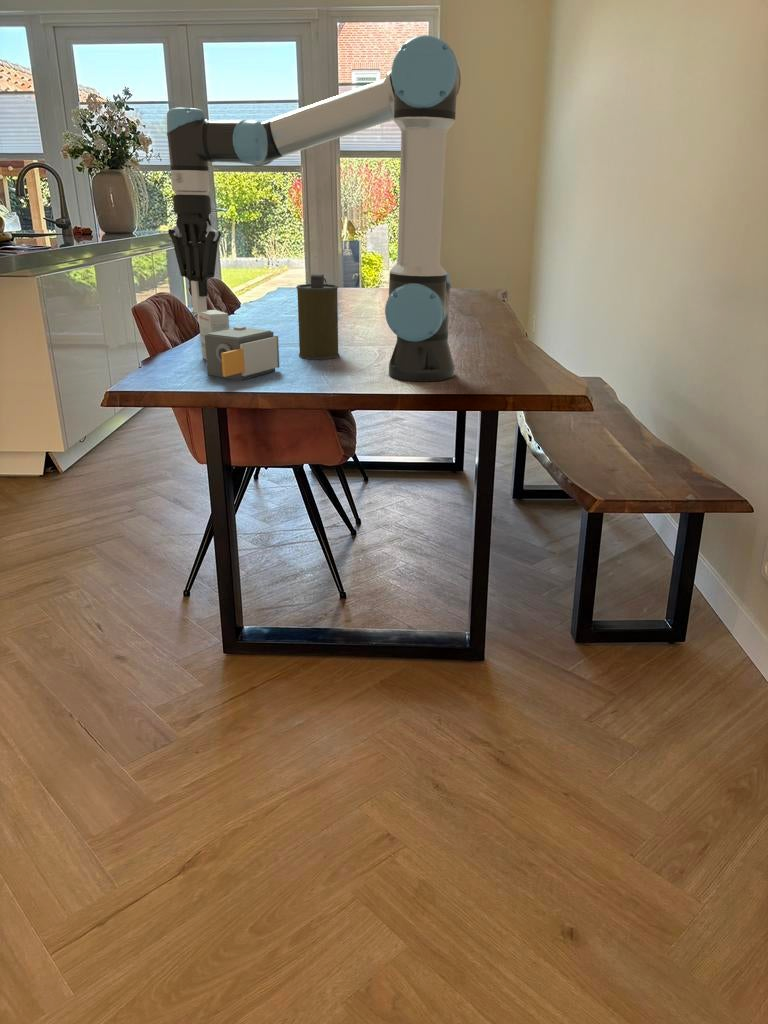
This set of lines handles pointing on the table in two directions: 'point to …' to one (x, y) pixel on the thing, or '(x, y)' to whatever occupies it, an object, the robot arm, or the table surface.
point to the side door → (251, 357)
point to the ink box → (211, 325)
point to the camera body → (231, 348)
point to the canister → (318, 319)
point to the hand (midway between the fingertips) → (200, 311)
